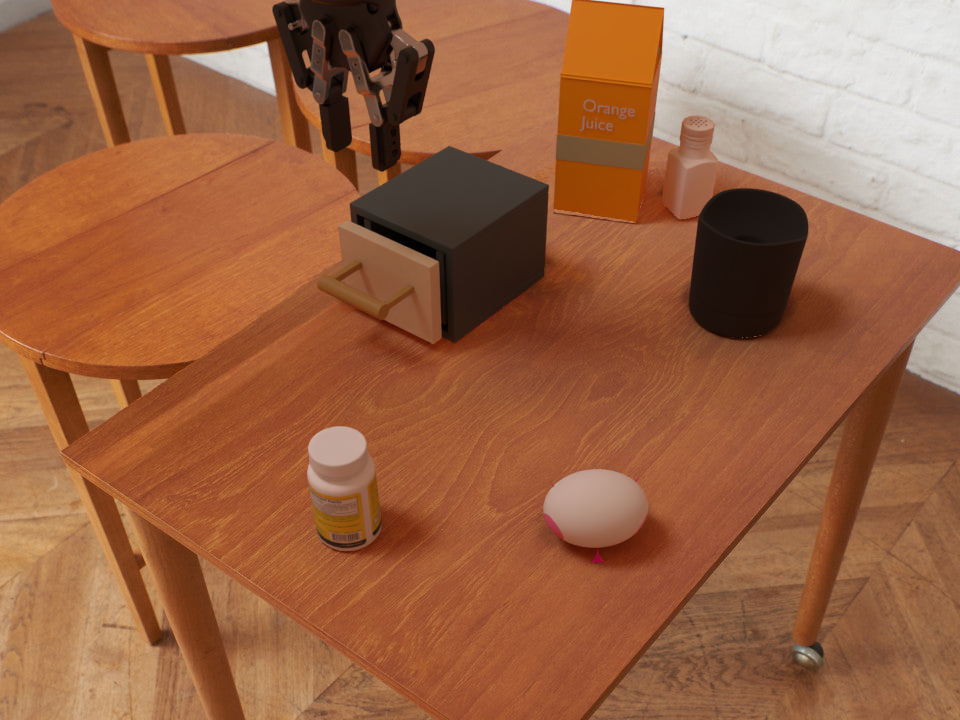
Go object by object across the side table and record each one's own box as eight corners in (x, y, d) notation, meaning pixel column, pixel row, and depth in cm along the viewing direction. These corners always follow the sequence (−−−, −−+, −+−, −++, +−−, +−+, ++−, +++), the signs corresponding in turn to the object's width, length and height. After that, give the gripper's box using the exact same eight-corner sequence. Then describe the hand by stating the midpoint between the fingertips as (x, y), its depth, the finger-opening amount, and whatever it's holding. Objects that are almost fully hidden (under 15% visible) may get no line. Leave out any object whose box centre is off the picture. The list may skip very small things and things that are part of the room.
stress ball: (630, 542, 81) (629, 457, 80) (659, 567, 73) (659, 473, 72) (533, 548, 80) (531, 462, 79) (552, 574, 72) (550, 479, 71)
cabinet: (454, 343, 93) (452, 249, 86) (358, 296, 98) (348, 203, 91) (544, 276, 101) (549, 184, 94) (451, 235, 105) (449, 145, 98)
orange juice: (636, 225, 107) (660, 23, 93) (552, 213, 109) (562, 13, 94) (646, 187, 113) (670, -8, 98) (565, 177, 114) (577, -18, 100)
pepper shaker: (678, 223, 108) (691, 135, 101) (658, 204, 110) (670, 117, 103) (711, 215, 109) (726, 127, 102) (691, 197, 111) (705, 110, 105)
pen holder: (807, 325, 96) (833, 228, 89) (724, 354, 93) (745, 256, 85) (743, 274, 101) (763, 178, 94) (663, 300, 98) (678, 203, 91)
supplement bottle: (355, 496, 79) (344, 412, 73) (395, 530, 77) (387, 445, 71) (303, 528, 77) (288, 444, 71) (343, 563, 75) (331, 479, 69)
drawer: (397, 371, 89) (391, 293, 83) (309, 325, 93) (297, 248, 87) (519, 281, 98) (521, 206, 93) (434, 243, 103) (431, 169, 97)
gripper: (222, -98, 69) (262, 147, 82) (383, -49, 64) (399, 207, 76) (304, -123, 74) (329, 113, 86) (461, -79, 68) (465, 167, 80)
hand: (362, 156), depth 81 cm, fingers open, 4 cm apart
